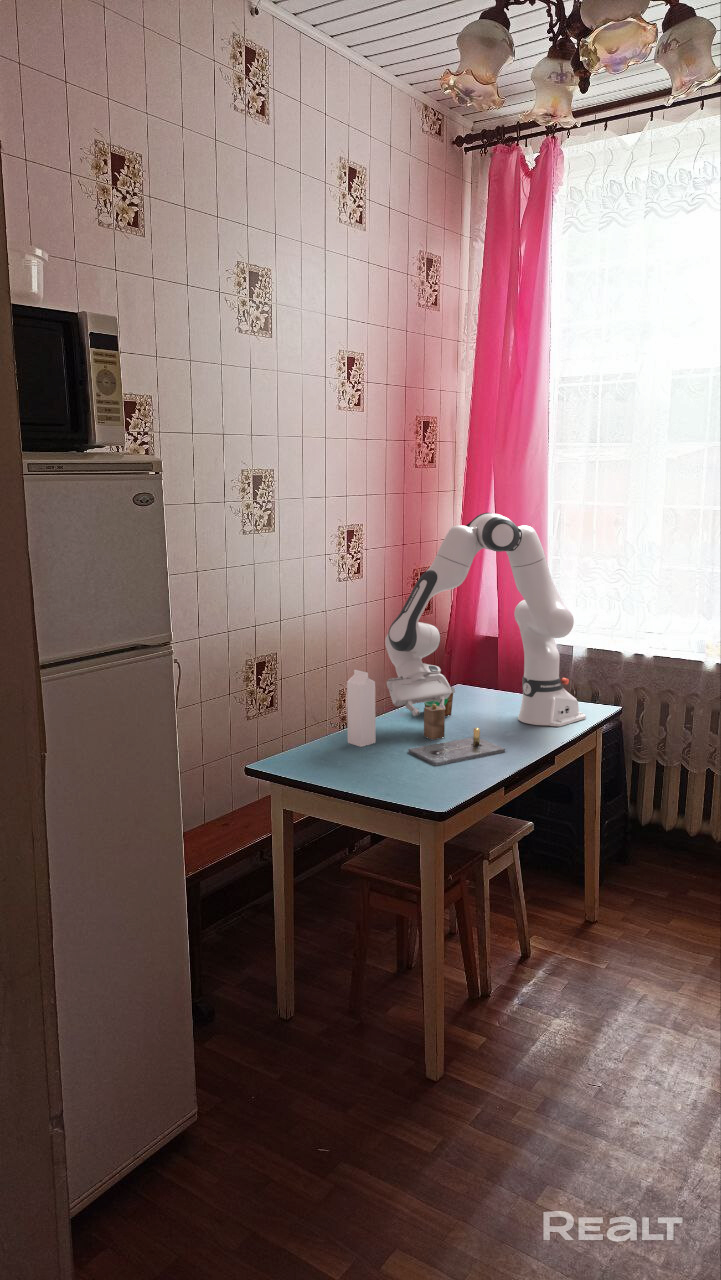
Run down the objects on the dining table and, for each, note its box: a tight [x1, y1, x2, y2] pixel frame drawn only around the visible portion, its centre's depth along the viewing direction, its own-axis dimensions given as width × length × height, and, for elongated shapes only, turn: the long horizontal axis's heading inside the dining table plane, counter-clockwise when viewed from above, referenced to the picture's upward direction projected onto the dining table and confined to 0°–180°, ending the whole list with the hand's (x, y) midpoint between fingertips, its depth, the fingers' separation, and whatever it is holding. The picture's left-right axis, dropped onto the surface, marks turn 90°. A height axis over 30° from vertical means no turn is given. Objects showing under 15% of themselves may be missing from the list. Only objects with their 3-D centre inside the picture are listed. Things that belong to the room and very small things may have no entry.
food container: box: [423, 686, 456, 717], centre depth 297 cm, size 12×6×10 cm, turn 49°
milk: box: [346, 669, 376, 748], centre depth 265 cm, size 6×6×22 cm
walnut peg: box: [423, 704, 446, 740], centre depth 272 cm, size 4×4×10 cm
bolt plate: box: [407, 727, 506, 767], centre depth 257 cm, size 24×14×6 cm, turn 119°
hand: (430, 712), depth 273 cm, fingers open, 8 cm apart
